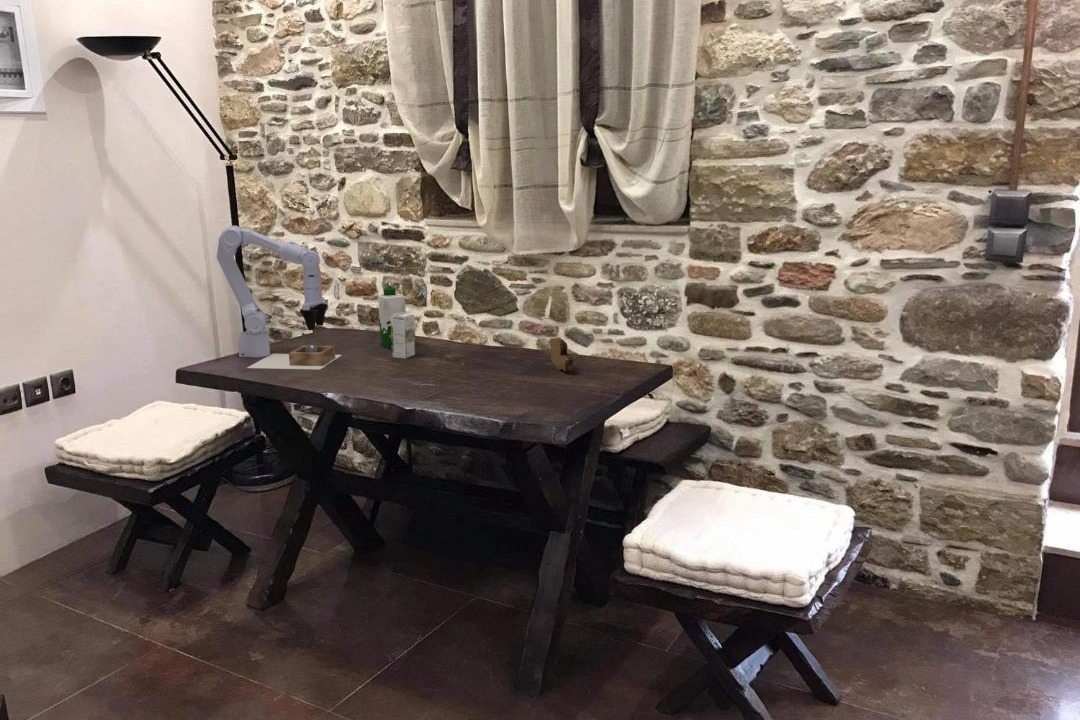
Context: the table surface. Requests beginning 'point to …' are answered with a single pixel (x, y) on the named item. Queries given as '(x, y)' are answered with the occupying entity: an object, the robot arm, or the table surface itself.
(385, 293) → the milk carton
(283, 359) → the post board
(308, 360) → the square collar
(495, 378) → the table surface
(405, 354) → the syrup box
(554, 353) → the wooden carving
